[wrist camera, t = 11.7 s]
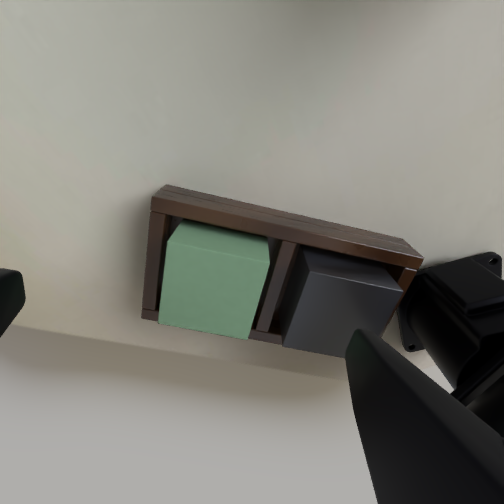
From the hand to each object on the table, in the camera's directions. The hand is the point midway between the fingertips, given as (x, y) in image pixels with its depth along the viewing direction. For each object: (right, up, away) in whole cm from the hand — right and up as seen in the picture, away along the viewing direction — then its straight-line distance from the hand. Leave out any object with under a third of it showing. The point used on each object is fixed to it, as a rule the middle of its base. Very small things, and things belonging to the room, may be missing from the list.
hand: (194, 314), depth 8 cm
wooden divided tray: (+3, +1, +11) cm, 12 cm away
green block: (-1, +1, +10) cm, 10 cm away
